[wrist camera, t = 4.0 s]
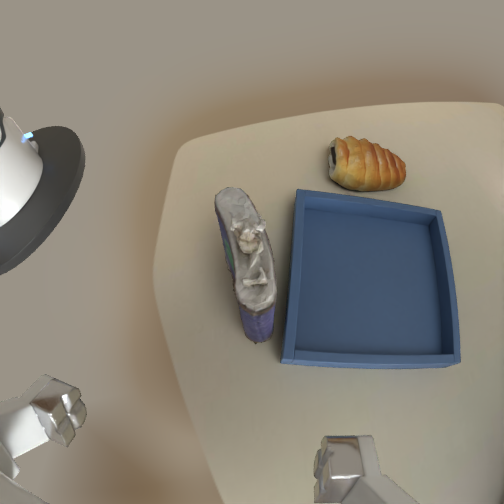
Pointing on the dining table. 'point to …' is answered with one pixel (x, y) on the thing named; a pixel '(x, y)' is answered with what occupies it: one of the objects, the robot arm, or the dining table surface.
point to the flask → (248, 261)
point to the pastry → (364, 165)
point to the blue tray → (369, 286)
